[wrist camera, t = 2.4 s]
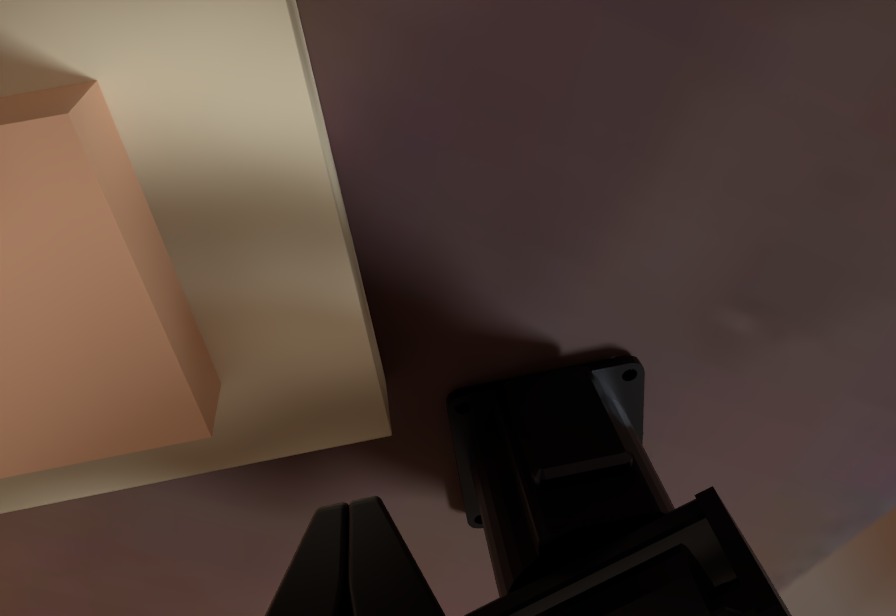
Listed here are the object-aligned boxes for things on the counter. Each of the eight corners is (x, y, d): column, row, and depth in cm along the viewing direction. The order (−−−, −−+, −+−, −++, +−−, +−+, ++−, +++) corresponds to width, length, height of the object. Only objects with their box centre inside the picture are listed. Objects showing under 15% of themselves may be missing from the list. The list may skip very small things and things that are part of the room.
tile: (221, 383, 19) (211, 436, 17) (-10, 428, 19) (-43, 487, 17) (97, 80, 14) (67, 113, 13) (-212, 134, 14) (-282, 175, 12)
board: (385, 380, 23) (392, 435, 21) (-30, 461, 22) (-67, 526, 20) (263, -134, 15) (254, -127, 13) (-388, -28, 14) (-507, -3, 12)
